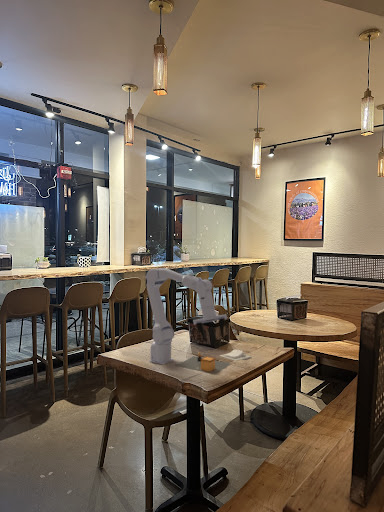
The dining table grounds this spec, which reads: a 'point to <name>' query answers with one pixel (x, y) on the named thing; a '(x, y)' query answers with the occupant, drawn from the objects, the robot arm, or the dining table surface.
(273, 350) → the dining table surface
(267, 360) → the dining table surface
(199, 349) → the dining table surface
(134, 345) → the dining table surface
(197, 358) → the wire post
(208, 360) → the orange panelled cube
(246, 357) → the light switch
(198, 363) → the board
